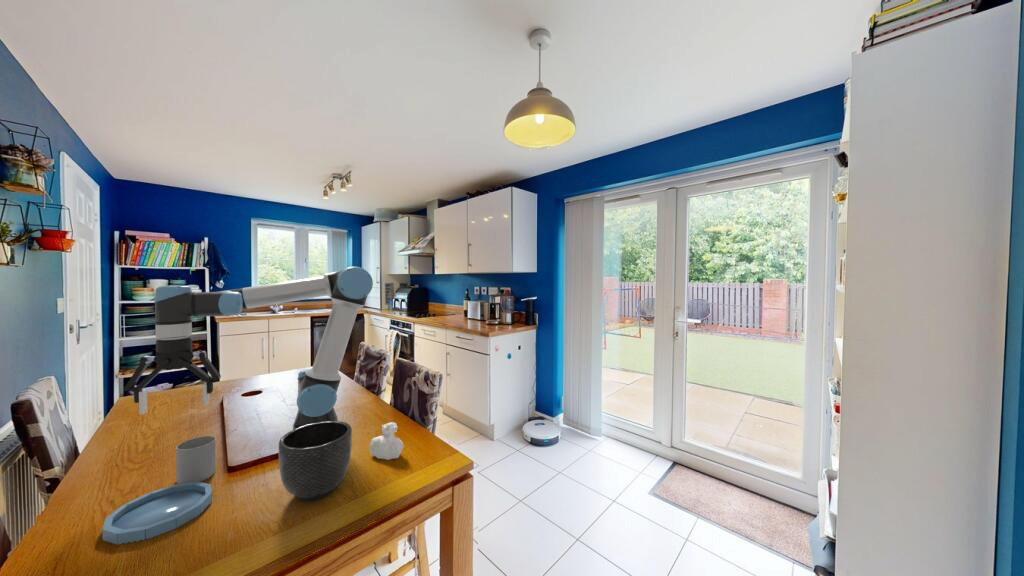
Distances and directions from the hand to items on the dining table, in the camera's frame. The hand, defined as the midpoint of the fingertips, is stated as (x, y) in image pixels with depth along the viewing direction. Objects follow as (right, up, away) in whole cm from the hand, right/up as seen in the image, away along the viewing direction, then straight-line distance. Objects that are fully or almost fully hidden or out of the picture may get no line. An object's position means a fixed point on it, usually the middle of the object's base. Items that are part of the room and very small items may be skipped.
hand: (175, 408), depth 98 cm
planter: (+47, -20, -8) cm, 52 cm away
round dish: (+14, -20, -17) cm, 30 cm away
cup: (+8, -20, -1) cm, 21 cm away
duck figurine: (+59, -20, +11) cm, 63 cm away
